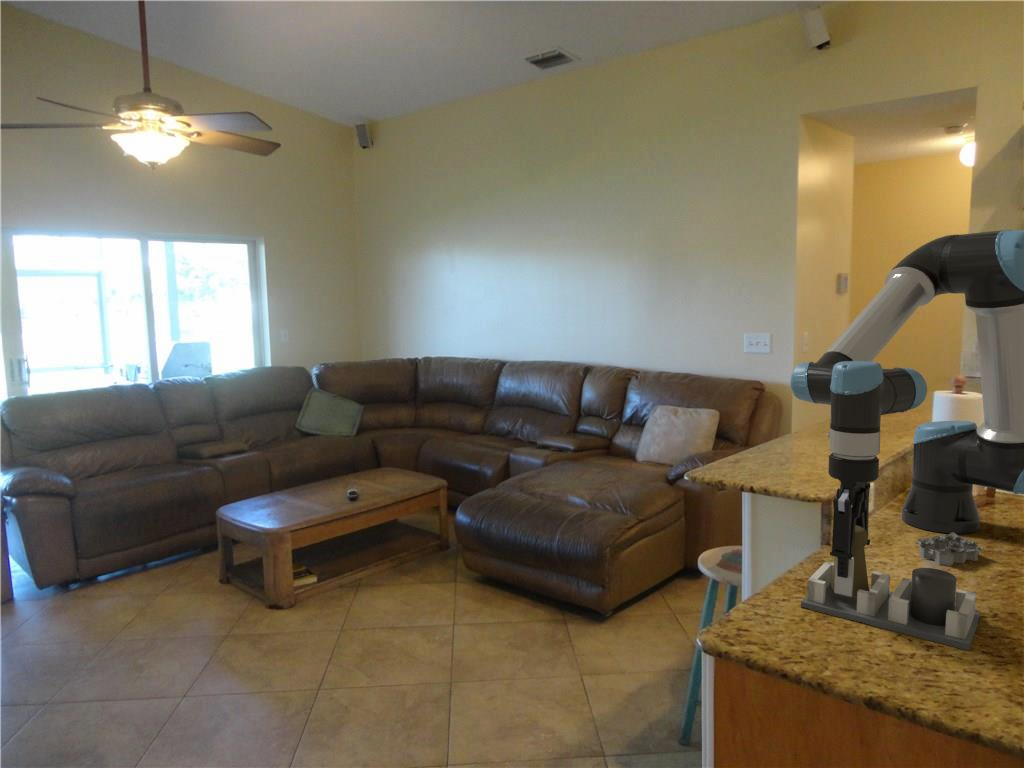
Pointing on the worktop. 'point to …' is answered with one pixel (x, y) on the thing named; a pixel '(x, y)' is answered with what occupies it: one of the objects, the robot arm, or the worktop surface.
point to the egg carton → (948, 549)
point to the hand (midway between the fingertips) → (848, 586)
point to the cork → (857, 562)
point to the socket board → (902, 605)
